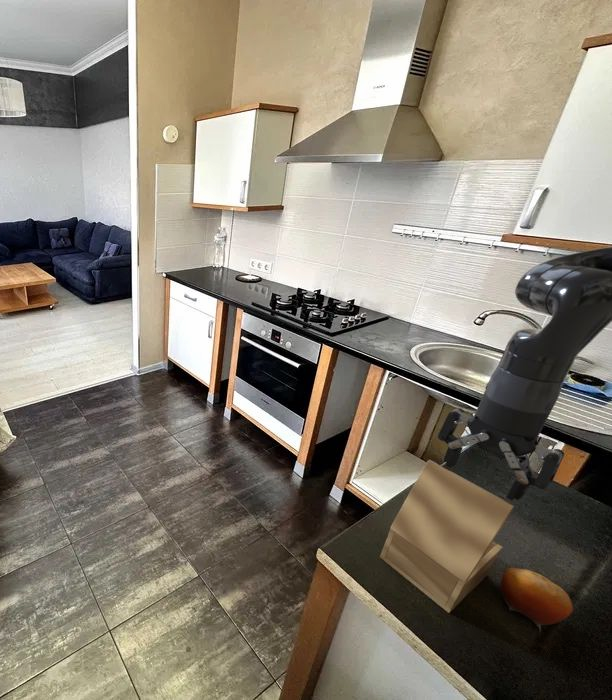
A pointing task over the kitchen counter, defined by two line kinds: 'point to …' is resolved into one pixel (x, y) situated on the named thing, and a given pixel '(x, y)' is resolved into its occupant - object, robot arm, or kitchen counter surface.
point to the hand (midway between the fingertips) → (479, 480)
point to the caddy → (434, 571)
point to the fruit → (535, 596)
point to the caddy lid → (451, 519)
